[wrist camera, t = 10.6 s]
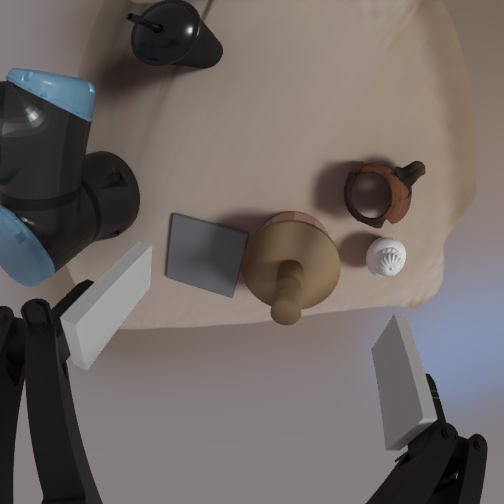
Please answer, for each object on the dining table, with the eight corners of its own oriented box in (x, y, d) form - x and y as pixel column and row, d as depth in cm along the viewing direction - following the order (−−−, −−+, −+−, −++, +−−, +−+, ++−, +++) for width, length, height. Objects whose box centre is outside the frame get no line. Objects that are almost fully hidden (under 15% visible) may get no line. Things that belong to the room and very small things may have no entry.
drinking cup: (183, 30, 32) (100, -10, 15) (235, 28, 31) (178, -29, 14) (178, 78, 36) (89, 64, 18) (230, 77, 35) (167, 52, 17)
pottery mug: (382, 233, 42) (366, 246, 36) (346, 184, 44) (323, 187, 38) (442, 185, 34) (438, 189, 28) (400, 133, 36) (387, 126, 30)
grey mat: (168, 275, 51) (166, 277, 50) (175, 212, 45) (173, 214, 45) (233, 295, 51) (232, 297, 50) (248, 233, 45) (247, 235, 44)
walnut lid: (234, 290, 43) (216, 338, 34) (255, 207, 37) (238, 241, 28) (320, 314, 42) (320, 366, 33) (354, 237, 36) (368, 279, 27)
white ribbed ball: (379, 220, 40) (392, 240, 34) (406, 243, 41) (421, 265, 35) (353, 251, 43) (360, 274, 37) (381, 271, 44) (391, 297, 38)
